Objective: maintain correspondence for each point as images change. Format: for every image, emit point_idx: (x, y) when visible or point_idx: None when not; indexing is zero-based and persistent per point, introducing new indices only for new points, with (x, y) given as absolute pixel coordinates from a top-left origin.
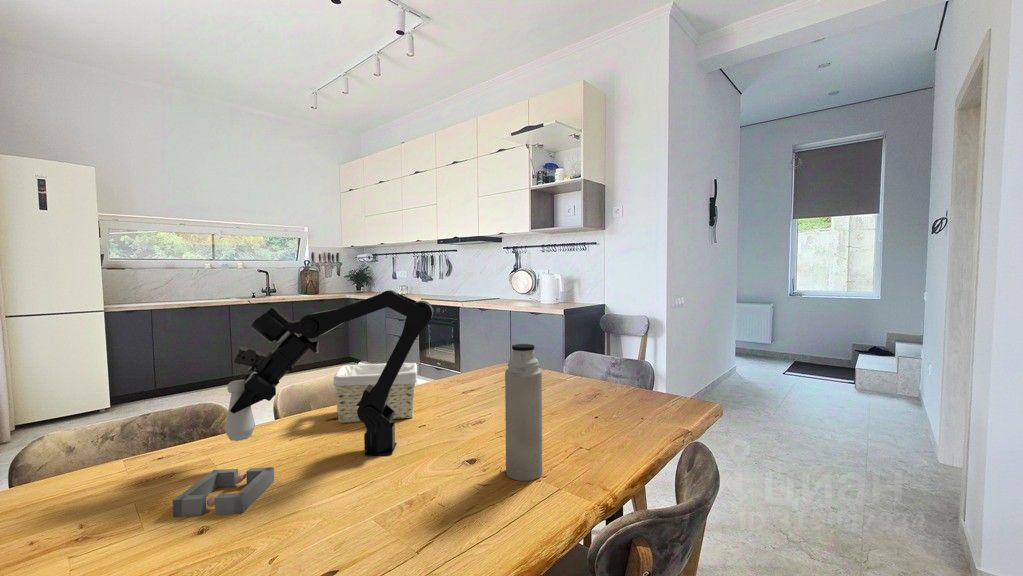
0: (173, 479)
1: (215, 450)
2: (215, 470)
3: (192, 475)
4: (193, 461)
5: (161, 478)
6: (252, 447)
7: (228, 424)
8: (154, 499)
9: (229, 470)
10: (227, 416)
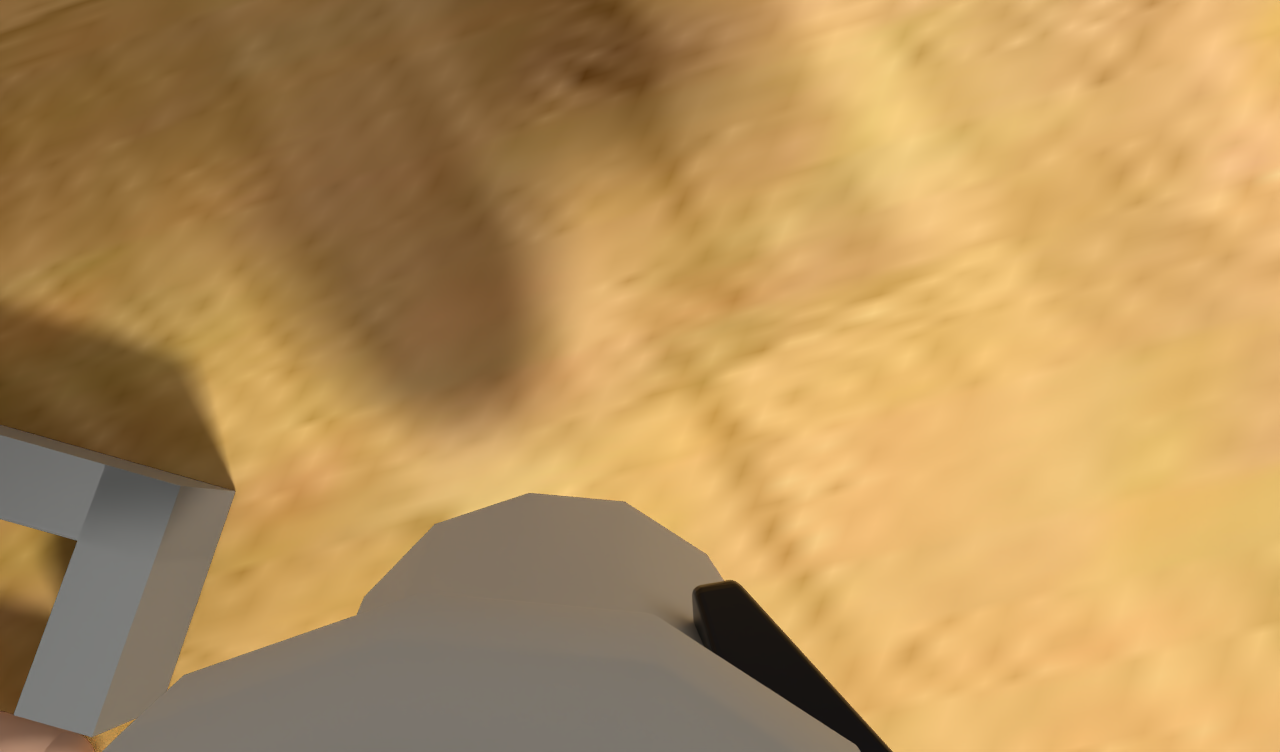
0: (499, 115)
1: (1107, 276)
2: (156, 505)
3: (527, 244)
4: (875, 156)
5: (563, 14)
6: (1078, 629)
7: (388, 584)
8: (131, 100)
9: (83, 654)
10: (486, 546)
